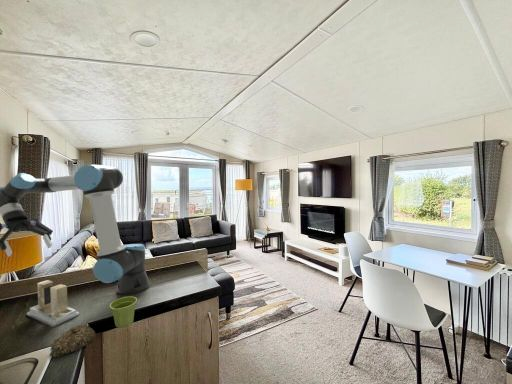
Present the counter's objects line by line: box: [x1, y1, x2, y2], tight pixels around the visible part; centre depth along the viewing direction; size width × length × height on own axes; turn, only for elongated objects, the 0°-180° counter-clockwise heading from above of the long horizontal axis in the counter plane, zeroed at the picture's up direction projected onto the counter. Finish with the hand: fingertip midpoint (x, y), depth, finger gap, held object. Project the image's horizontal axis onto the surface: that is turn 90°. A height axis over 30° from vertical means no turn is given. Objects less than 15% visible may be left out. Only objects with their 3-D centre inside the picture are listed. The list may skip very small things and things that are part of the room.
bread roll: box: [49, 324, 97, 358], centre depth 79 cm, size 13×12×5 cm
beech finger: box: [37, 279, 54, 312], centre depth 97 cm, size 5×4×12 cm
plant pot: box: [109, 296, 138, 329], centre depth 89 cm, size 9×9×9 cm
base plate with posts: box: [26, 283, 80, 328], centre depth 95 cm, size 20×9×13 cm, turn 66°
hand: (31, 250), depth 101 cm, fingers open, 13 cm apart
